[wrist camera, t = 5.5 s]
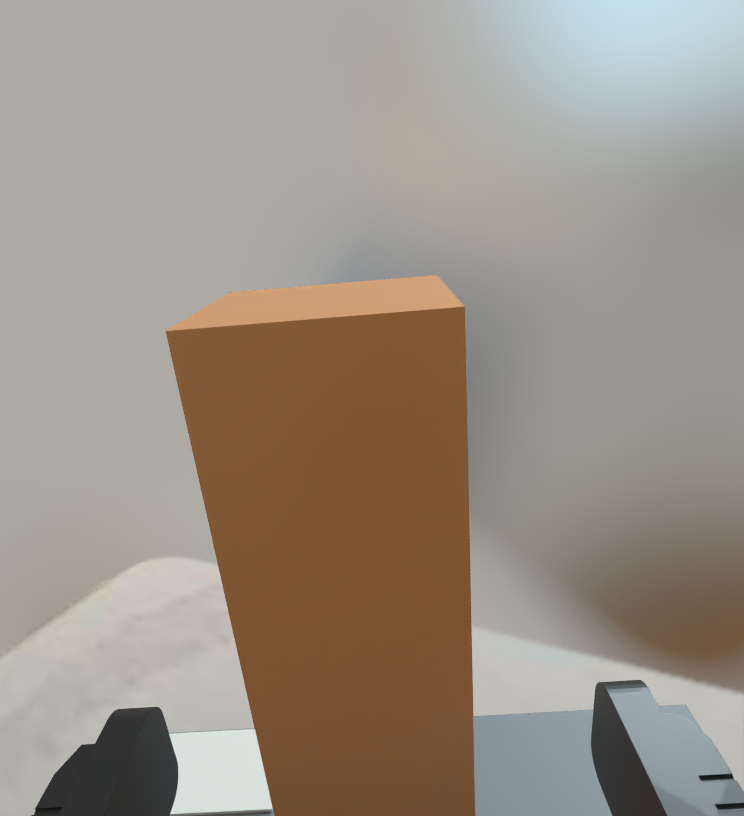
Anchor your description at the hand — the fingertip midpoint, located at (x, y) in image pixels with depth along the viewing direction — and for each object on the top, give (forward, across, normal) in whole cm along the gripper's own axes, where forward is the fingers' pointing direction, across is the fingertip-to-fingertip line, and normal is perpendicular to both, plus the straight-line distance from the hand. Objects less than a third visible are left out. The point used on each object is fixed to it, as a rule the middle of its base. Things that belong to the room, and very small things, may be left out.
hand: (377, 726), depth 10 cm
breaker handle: (-1, 0, +6) cm, 6 cm away
